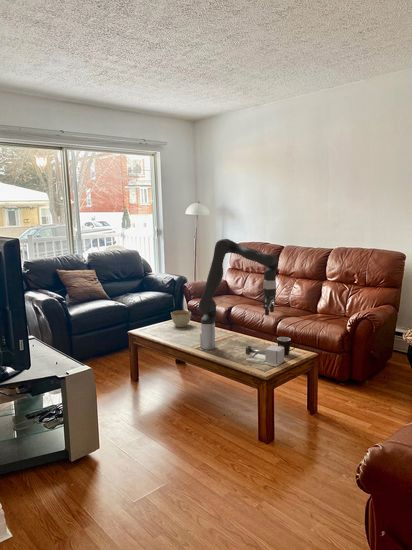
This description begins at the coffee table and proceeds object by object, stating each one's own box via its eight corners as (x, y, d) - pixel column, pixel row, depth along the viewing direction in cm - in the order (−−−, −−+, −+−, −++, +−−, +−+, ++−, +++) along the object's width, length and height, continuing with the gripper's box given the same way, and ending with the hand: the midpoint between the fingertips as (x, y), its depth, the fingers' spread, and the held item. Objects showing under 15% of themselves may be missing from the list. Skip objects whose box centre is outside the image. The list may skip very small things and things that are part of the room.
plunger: (243, 357, 250) (243, 348, 250) (249, 353, 258) (249, 344, 257) (265, 361, 243) (265, 352, 242) (270, 356, 250) (270, 348, 249)
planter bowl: (191, 328, 322) (191, 314, 320) (171, 329, 321) (170, 315, 319) (191, 322, 337) (191, 310, 336) (171, 323, 337) (171, 310, 335)
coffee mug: (274, 353, 262) (274, 338, 260) (285, 351, 265) (285, 336, 264) (284, 359, 251) (284, 343, 250) (296, 356, 255) (296, 341, 253)
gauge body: (246, 360, 250) (245, 346, 248) (254, 354, 260) (254, 341, 258) (277, 366, 239) (277, 352, 237) (285, 360, 249) (285, 346, 247)
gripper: (268, 284, 253) (267, 310, 256) (259, 288, 241) (259, 315, 244) (279, 285, 250) (279, 311, 252) (271, 290, 237) (271, 317, 240)
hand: (269, 313), depth 248 cm, fingers open, 8 cm apart
